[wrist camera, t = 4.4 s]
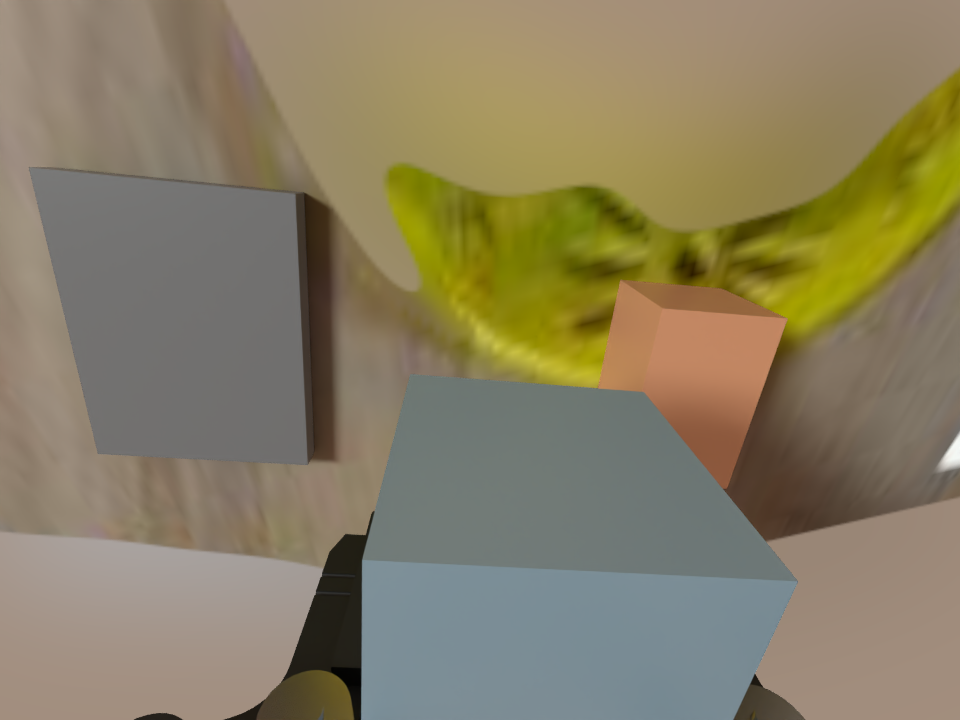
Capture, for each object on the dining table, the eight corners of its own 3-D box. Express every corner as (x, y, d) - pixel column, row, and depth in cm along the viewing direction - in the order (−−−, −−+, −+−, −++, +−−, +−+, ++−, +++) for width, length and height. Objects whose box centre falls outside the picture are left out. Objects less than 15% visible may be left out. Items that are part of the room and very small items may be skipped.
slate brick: (643, 392, 10) (798, 581, 5) (578, 649, 13) (641, 914, 8) (410, 374, 10) (362, 560, 5) (397, 643, 13) (359, 914, 8)
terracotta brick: (719, 287, 23) (787, 318, 18) (678, 430, 26) (726, 488, 21) (619, 279, 22) (662, 308, 18) (589, 425, 25) (619, 483, 21)
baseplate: (304, 192, 20) (295, 194, 19) (314, 451, 25) (307, 465, 24) (53, 167, 19) (29, 167, 18) (114, 440, 24) (97, 453, 23)
